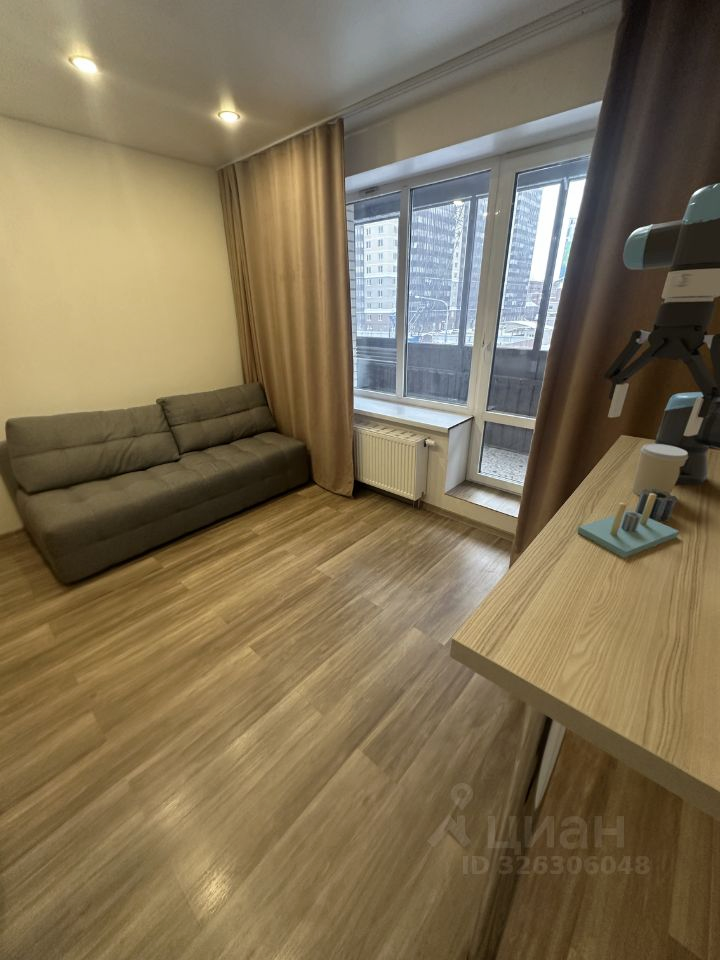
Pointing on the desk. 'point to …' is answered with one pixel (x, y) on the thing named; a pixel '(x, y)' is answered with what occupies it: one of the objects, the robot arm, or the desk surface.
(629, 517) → the carrier
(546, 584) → the desk surface
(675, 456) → the coffee cup
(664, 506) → the gear
